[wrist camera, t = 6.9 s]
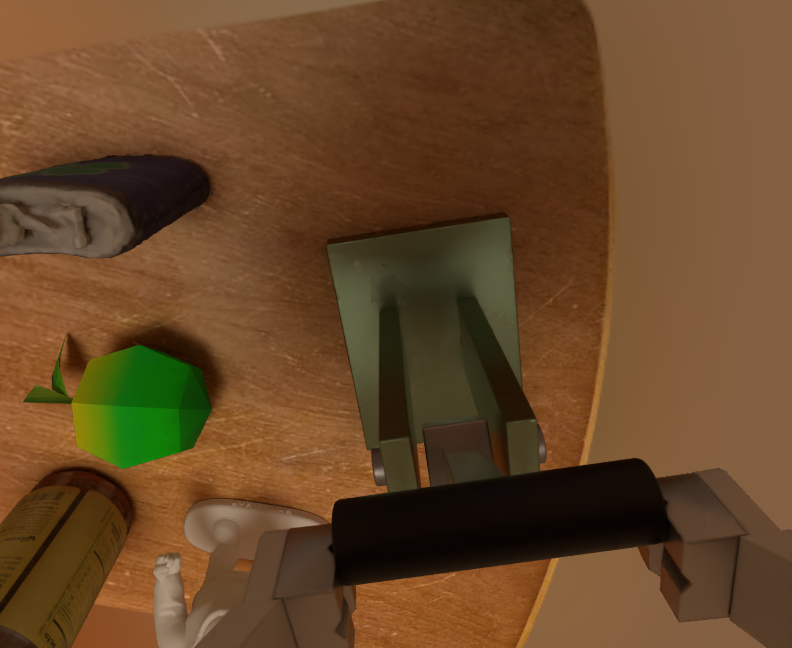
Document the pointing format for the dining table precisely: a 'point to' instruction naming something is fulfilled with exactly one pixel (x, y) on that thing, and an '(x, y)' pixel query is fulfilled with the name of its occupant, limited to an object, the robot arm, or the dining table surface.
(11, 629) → the sauce bottle
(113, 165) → the eggplant half
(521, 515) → the lever
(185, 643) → the figurine
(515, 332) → the bracket
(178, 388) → the apple
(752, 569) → the robot arm
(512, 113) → the dining table surface
